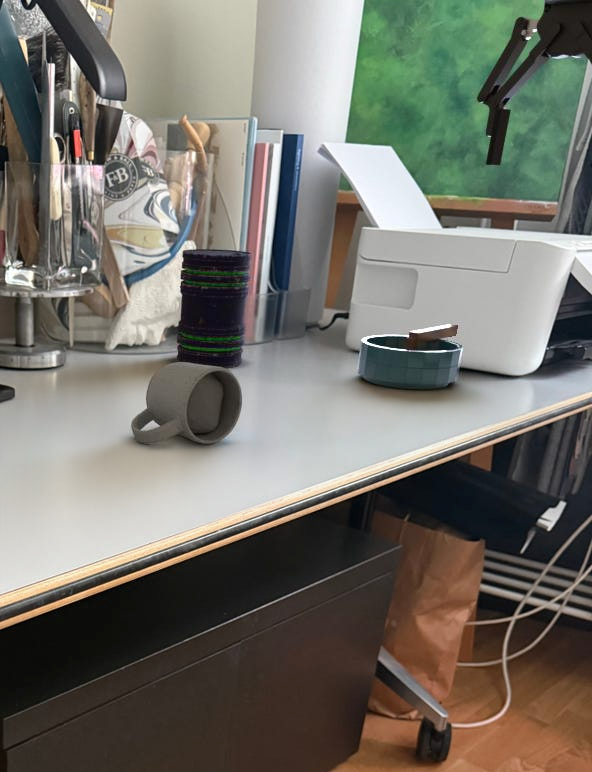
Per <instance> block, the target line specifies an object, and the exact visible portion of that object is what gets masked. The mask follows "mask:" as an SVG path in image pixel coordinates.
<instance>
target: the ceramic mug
mask: <svg viewBox="0 0 592 772" xmlns="http://www.w3.org/2000/svg"><path fill="white" fill-rule="evenodd" d="M147 385H148V386H147V390H146V395H145V403H146V408H145V409H143V410H142V411H141V412H140V413H138V414H137V415H136V416H135V417H134V418H133V419H132V420H131V424H130V429H131V431H132V434H133V436H134V437H133V438H134V440H136V442H138V443H141V444H145V445H150V444H156V443H157V444H158V443H160V442H164V441H166V440H169V439H171V438H172V437H173V438H174V436H176V435H179V436H181V437H183V438H186V439H188V440H191V441H193V442H197V443H198V444H202V445H211V444H212V445H213V444H216V443H219V442H220V441H222V440H224V439H225V438H226V437H227V436H229V435H230V433H232V431H233V430H234V428H235V427H236V425H237V423H238V421H239V419H240V415H241V412H242V408H243V407H242V406H243V394H242V393H243V392H242V388H241V385H240V382H239V380H238V378H237V377H236V375H235V374H234V373H233V372H232V371H231V370H230V369H227V368H222V367H217V366H207V365H200V364H193V363H187V362H177V361H176V362H172V363H168V364H166V365H163V366H162V367H161V368H159V369H158V370H157V371H156V372H155V373H154V374H153V375H152V377H151V379H150V381H149V382H148V384H147ZM151 422H154V423H155V424H156V425H158V426H157V427H154V428H151V429H147V430H146V429H145V430H144V429H143V428H145V427H146V426H147V425H148V424H149V423H151ZM142 429H143V430H142Z"/></svg>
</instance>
